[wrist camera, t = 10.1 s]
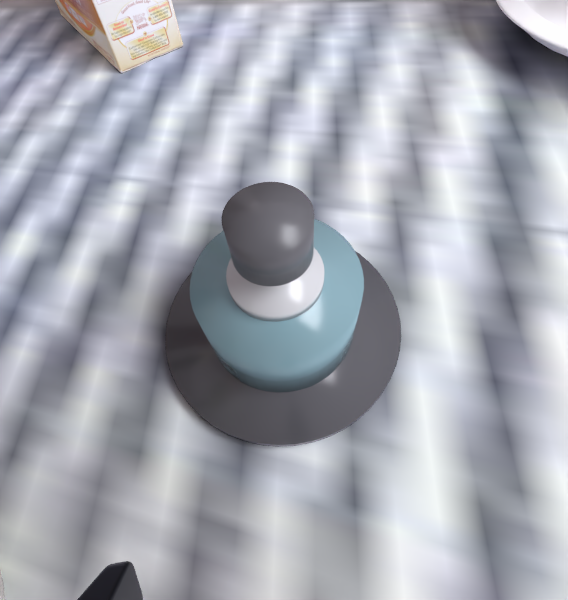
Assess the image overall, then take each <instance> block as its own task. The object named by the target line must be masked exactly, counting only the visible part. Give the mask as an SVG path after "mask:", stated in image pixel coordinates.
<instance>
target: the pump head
mask: <svg viewBox="0 0 568 600" xmlns="http://www.w3.org/2000/svg"><path fill="white" fill-rule="evenodd" d="M222 226H223V230H224V233H225V237H226V240H227V244H228V247H229V251H230V254H231V258H232V261H233V265H234V267H235V269H236V270H237V272H238V273H239V274H240V275H241V276H242V277H243V278H244V279H246V280H248V281H249V282H251V283H254V284H257V285H261V286H280V285H284V284H287V283H290V282H292V281H294V280H296V279H297V278H299V277H300V276H301V275H303V274H304V273H305V272H306V270H307V269H308V268H309V266H310V264H311V262H312V259H313V252H314V209H313V206H312V203H311V201H310V200H309V198H308V197H307V196H306V195H305V194H304V193H303V192H302V191H300V190H299V189H297V188H295V187H293V186H291V185H288V184H284V183H278V182H263V183H258V184H254V185H251V186H248V187H246V188H244V189H242V190H240V191H239V192H237V193H236V194H235V195H234V196H233V197H232V198H231V199H230V200H229V201H228V202H227V204H226V206H225V208H224V210H223V213H222Z"/></svg>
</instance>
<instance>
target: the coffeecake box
mask: <svg viewBox="0 0 568 600" xmlns="http://www.w3.org/2000/svg"><path fill="white" fill-rule="evenodd" d="M55 1H56V4H57V6H58V8H59V10H60V14H61V15H62V16H63V17H64V18H65V19H66V20H67V21H68V22H69V23H70V24H71V25H72V26H73V27H74V28H75V29H76V30H77V31H78V32H79V33H80V34H81V35H82V36H83V37H84V38H86V39H87V40H88V41H89V42H90V43H91V44H92V45H93V46H94V47H95V48H96V49H97V50H98V51H99V52H100V53H101V54H102V55H103V56H104V57H105V58H106V59H107V60H108V61H109V62H110V63H111V64H112V65H113V66H114V67H115V68H116V69H118V70H119V71H120V72H121V73H123V72H126V71H128V70H131V69H133V68H135V67H137V66H140V65H142V64H144V63H146V62H148V61H150V60H152V59H154V58H156V57H159V56H161V55H164V54H166V53H169V52H171V51H173V50H176V49H178V48H180V47H182V46H183V42H182V39H181V35H180V31H179V27H178V23H177V19H176V16H175V12H174V8H173V4H172V1H171V0H55Z"/></svg>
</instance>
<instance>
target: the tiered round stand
mask: <svg viewBox="0 0 568 600" xmlns="http://www.w3.org/2000/svg"><path fill="white" fill-rule="evenodd" d="M400 342H401V325H400V318H399V313H398V308H397V306H396V303H395V300H394V297H393V295H392V293H391V291H390V289H389V287H388V285H387V283H386V282H385V281H384V279H383V278H382V276H381V275H380V273H379V272H378V271H377V270H376V269H375V268H374V267H373V266H372V265H371V263H370V262H368V261H367V260H366V259H365V258H364V257H362V256H361V255H360V254H359V253H357V252H356V251H354V249H353V248H352V246H351V245H350V243H349V242H348V241H347V240H346V239H345V238H344V237H343V236H342V235H341V234H340V233H338V232H337V231H336V230H335V229H333V228H331V227H330V226H328V225H327V224H325V223H323V222H321V221H319V220H316V219H314V252H313V259H312V262H311V264H310V266H309V268H308V269H307V270H306V272H305V273H304V274H303V275H301V276H300V277H299V278H297V279H296V280H294V281H292V282H290V283H287V284H284V285H280V286H261V285H257V284H254V283H251V282H249V281H248V280H246V279H244V278H243V277H242V276H241V275H240V274H239V273H238V272H237V270H236V269H235V267H234V265H233V261H232V258H231V254H230V251H229V247H228V244H227V240H226V237H225V233H224V231H222V232H221V233H220V234H218V235H217V236H216V237H215V238H214V239H213V240H212V241H211V242H210V243H209V244H208V245H207V246H206V247H205V249H204V250H203V251H202V253H201V254H200V256H199V258H198V259H197V261H196V264H195V266H194V269H193V272H192V273H191V274H190V275H189V276H188V278H187V279H186V280H185V282H184V283H183V284H182V286H181V288H180V290H179V291H178V293H177V295H176V297H175V299H174V302H173V304H172V306H171V309H170V313H169V317H168V320H167V327H166V354H167V360H168V364H169V367H170V371H171V374H172V377H173V379H174V381H175V383H176V385H177V387H178V389H179V391H180V392H181V393H182V395H183V396H184V398H185V399H186V401H187V402H188V403H189V404H190V405H191V406H192V407H193V408H194V410H195V411H196V412H197V413H198V414H199V415H200V416H201V417H202V418H204V419H205V420H206V421H207V422H209V423H210V424H211V425H213V426H214V427H216V428H217V429H219V430H221V431H223V432H224V433H226V434H228V435H230V436H233V437H235V438H238V439H240V440H243V441H246V442H251V443H255V444H259V445H268V446H296V445H301V444H307V443H312V442H315V441H318V440H321V439H324V438H327V437H330V436H332V435H334V434H336V433H338V432H340V431H342V430H344V429H345V428H347V427H348V426H350V425H351V424H353V423H354V422H356V421H357V420H358V419H360V418H361V417H362V416H363V415H364V414H365V413H366V412H367V411H368V410H369V409H370V408H371V407H372V406H373V405H374V403H375V402H376V401H377V400H378V399H379V397H380V396H381V394H382V393H383V391H384V389H385V388H386V386H387V384H388V383H389V381H390V379H391V376H392V374H393V372H394V369H395V367H396V364H397V360H398V356H399V352H400Z"/></svg>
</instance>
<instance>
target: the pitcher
mask: <svg viewBox="0 0 568 600" xmlns="http://www.w3.org/2000/svg"><path fill="white" fill-rule="evenodd" d="M0 600H5V599H4V585H3V580H2V575H1V571H0Z"/></svg>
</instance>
